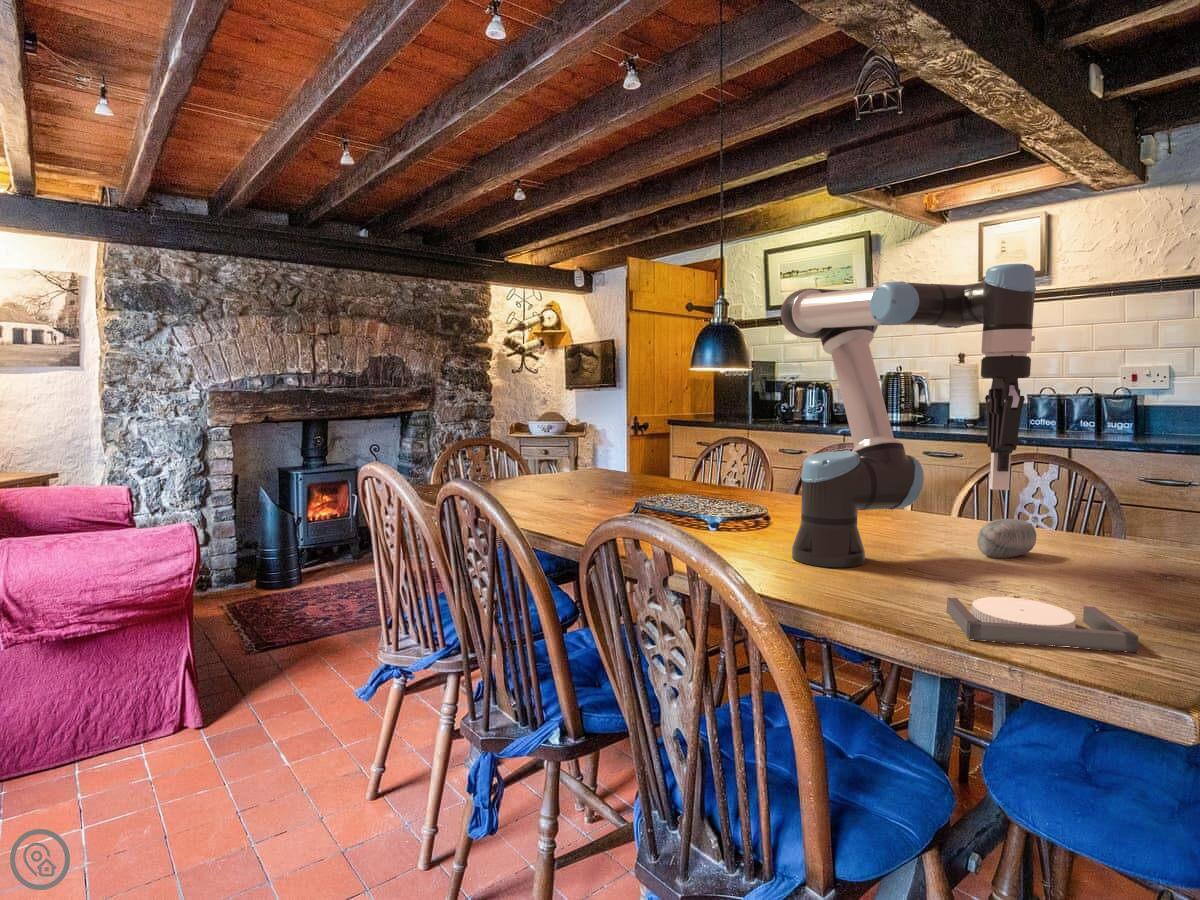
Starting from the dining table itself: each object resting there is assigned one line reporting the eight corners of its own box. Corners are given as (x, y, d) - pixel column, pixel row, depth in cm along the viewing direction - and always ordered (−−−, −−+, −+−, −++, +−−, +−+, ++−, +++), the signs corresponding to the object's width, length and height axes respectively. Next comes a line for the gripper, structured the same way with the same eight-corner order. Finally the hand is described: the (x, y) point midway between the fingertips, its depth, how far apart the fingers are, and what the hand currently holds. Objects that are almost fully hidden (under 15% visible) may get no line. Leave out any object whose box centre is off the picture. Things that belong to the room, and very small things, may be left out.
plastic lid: (981, 606, 120) (982, 592, 119) (1079, 623, 111) (1080, 608, 110) (962, 627, 109) (962, 612, 109) (1069, 648, 100) (1070, 631, 100)
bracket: (969, 640, 102) (970, 624, 102) (946, 612, 116) (947, 597, 115) (1137, 653, 97) (1138, 635, 97) (1093, 622, 110) (1094, 606, 110)
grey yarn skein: (1004, 532, 163) (1017, 500, 158) (1039, 558, 156) (1054, 525, 150) (960, 551, 159) (972, 518, 153) (995, 578, 152) (1008, 545, 146)
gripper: (1044, 353, 114) (1036, 495, 116) (1017, 356, 127) (1010, 484, 129) (994, 354, 116) (987, 493, 118) (972, 357, 128) (966, 483, 131)
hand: (999, 489), depth 123 cm, fingers closed
